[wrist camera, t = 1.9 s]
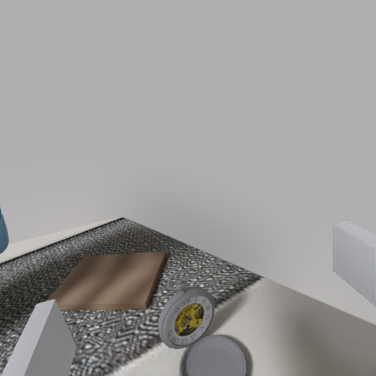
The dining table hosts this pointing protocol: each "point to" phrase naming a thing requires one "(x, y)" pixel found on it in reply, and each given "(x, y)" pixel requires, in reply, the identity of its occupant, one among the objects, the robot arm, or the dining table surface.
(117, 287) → the walnut board
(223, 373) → the pocket watch
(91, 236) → the dining table surface
